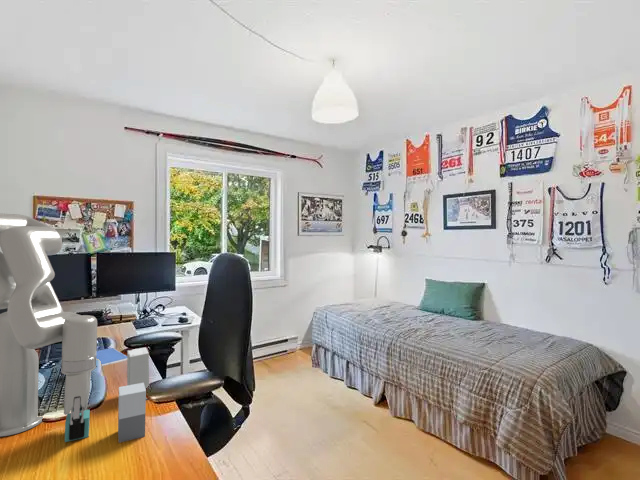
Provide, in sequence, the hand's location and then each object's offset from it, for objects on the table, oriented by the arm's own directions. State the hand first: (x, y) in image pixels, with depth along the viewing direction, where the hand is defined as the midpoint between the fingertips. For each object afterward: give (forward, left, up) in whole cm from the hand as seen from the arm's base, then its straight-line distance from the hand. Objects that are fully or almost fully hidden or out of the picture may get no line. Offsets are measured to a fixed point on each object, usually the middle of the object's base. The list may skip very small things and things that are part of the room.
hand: (77, 431), depth 91 cm
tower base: (+12, -6, -1) cm, 14 cm away
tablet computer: (+6, +63, -2) cm, 63 cm away
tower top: (+12, -6, +5) cm, 15 cm away
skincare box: (+15, +17, -1) cm, 23 cm away
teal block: (0, 0, -1) cm, 1 cm away
